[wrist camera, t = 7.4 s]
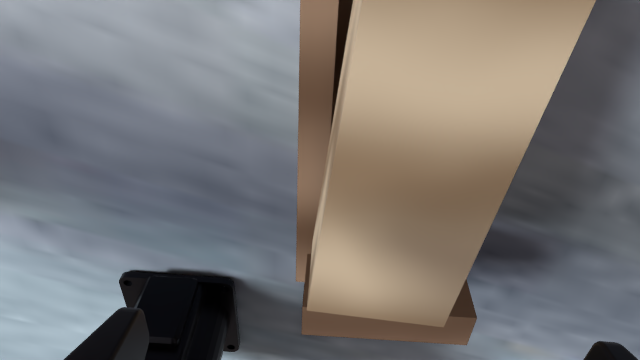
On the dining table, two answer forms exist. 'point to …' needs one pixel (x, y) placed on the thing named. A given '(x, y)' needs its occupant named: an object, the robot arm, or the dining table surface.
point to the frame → (313, 140)
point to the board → (429, 146)
